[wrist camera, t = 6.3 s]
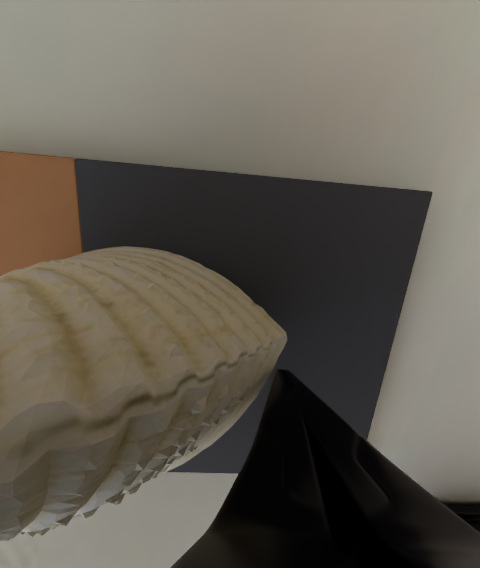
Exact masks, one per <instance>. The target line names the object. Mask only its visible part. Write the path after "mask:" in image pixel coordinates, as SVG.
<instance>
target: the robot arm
mask: <svg viewBox="0 0 480 568" xmlns="http://www.w3.org/2000/svg"><path fill="white" fill-rule="evenodd" d="M171 568H480V506H472V505H444V504H443V503H441V502H440V501H439V500H438V499H436V498H435V497H434V496H433V495H431V494H430V493H429V492H428V491H426V490H425V489H424V488H423V487H421V486H420V485H419V484H417V483H416V482H415V481H414V480H412V479H411V478H410V477H409V476H408V475H406V474H405V473H404V472H403V471H401V470H400V469H399V468H398V467H397V466H395V465H394V464H393V463H392V462H390V461H389V460H388V459H387V458H386V457H385V456H383V455H382V454H381V453H380V452H379V451H378V450H377V449H375V448H374V447H373V446H372V445H371V444H370V443H369V442H368V441H367V440H365V439H364V438H363V437H362V436H360V435H359V433H358V432H356V431H355V430H354V429H353V428H352V427H351V426H350V425H349V424H348V423H347V422H345V421H344V420H343V419H342V418H341V417H340V416H339V415H338V414H337V413H336V412H334V411H333V410H332V409H331V408H330V407H329V406H328V405H327V404H326V403H325V402H323V401H322V400H321V399H320V398H319V397H318V396H317V395H316V394H315V393H313V392H312V391H311V390H310V389H309V388H308V387H307V386H306V385H305V384H304V383H302V382H301V381H300V380H299V379H298V378H297V377H296V376H295V375H294V374H293V373H291V372H290V371H289V370H285V369H277V370H276V372H275V375H274V379H273V382H272V385H271V388H270V391H269V394H268V398H267V401H266V404H265V407H264V410H263V413H262V417H261V420H260V423H259V426H258V429H257V432H256V435H255V438H254V441H253V444H252V446H251V449H250V452H249V454H248V456H247V458H246V460H245V462H244V464H243V467H242V469H241V470H240V472H239V474H238V476H237V478H236V480H235V482H234V484H233V486H232V488H231V490H230V492H229V494H228V495H227V497H226V499H225V501H224V503H223V505H222V507H221V509H220V511H219V512H218V514H217V516H216V518H215V519H214V521H213V523H212V524H211V526H210V527H209V529H208V530H207V531H206V533H205V534H204V535H203V536H202V537H201V538H200V539H199V540H198V541H197V542H196V543H195V544H194V545H193V546H192V547H191V548H190V549H189V550H188V551H187V552H186V553H185V554H184V555H183V556H182V557H181V558H180V559H179V560H178V561H177V562H176V563H175V564H174V565H173V566H172V567H171Z"/></svg>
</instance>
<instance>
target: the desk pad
mask: <svg viewBox="0 0 480 568" xmlns="http://www.w3.org/2000/svg"><path fill="white" fill-rule="evenodd" d="M431 196H432V192H429V191H418V190H407V189H397V188H386V187H375V186H365V185H354V184H343V183H333V182H322V181H311V180H301V179H290V178H280V177H269V176H258V175H248V174H237V173H226V172H216V171H205V170H194V169H184V168H173V167H162V166H152V165H141V164H130V163H120V162H109V161H99V160H88V159H77V158H76V159H74V158H67V157H56V156H45V155H35V154H24V153H13V152H3V151H0V276H2V275H4V274H6V273H8V272H11V271H13V270H15V269H24V268H27V267H30V266H33V265H35V264H38V263H40V262H50V261H51V260H62V259H66V258H70V257H72V256H75V255H78V254H81V253H84V252H89V251H93V250H97V249H104V248H112V247H123V246H128V247H141V248H150V249H157V250H162V251H167V252H171V253H173V254H177V255H181V256H183V257H185V258H188V259H190V260H192V261H195V262H197V263H199V264H201V265H202V266H204V267H206V268H208V269H210V270H212V271H215V272H216V273H218V274H220V275H221V276H223V277H225V278H226V279H228V280H229V281H230V282H232V283H233V284H234V285H236V286H237V287H238V288H240V289H241V290H242V291H243V292H244V293H245V294H246V295H247V296H249V297H250V299H251V300H252V301H253V302H254V303H255V304H257V305H258V306H260V307H262V308H263V309H264V310H265V312H266V313H267V314H268V315H269V316H270V317H271V318H272V319H273V320H274V321H275V322H276V323H277V324H278V325H279V326H280V327H281V328H282V329H283V330H284V331H285V332H286V334H287V342H286V344H285V346H284V348H283V350H282V352H281V354H280V355H279V357H278V359H277V362H276V364H275V366H274V368H273V370H272V372H271V375H270V376H269V378H268V380H267V382H266V383H265V385H264V386H263V387H262V389H261V390H260V392H259V394H258V396H257V397H256V398H255V400H254V401H253V402H252V403H251V404H250V405H249V407H248V408H247V409H246V411H245V412H244V413H243V415H242V416H241V417H240V418H239V419H238V420H237V421H236V423H235V424H234V425H233V426H232V427H231V428H230V429H229V430H228V431H226V432H225V433H224V434H223V435H222V436H221V437H220V438H219V439H218V440H216V441H215V442H214V443H213V444H212V445H211V446H209V447H207V448H206V449H204V450H202V451H201V452H200V453H199V454H197V455H196V456H194V457H193V458H191V459H190V460H188V461H187V462H185V463H184V464H182V465H180V466H178V467H176V468H174V469H172V470H169V471H167V472H199V473H239V472H240V470H241V469H242V467H243V464H244V462H245V460H246V458H247V456H248V454H249V452H250V449H251V446H252V444H253V441H254V438H255V435H256V432H257V429H258V426H259V423H260V420H261V417H262V413H263V410H264V407H265V404H266V401H267V398H268V394H269V391H270V388H271V385H272V382H273V379H274V375H275V372H276V370H277V369H285V370H289V371H290V372H291V373H293V374H294V375H295V376H296V377H297V378H298V379H299V380H300V381H301V382H302V383H304V384H305V385H306V386H307V387H308V388H309V389H310V390H311V391H312V392H313V393H315V394H316V395H317V396H318V397H319V398H320V399H321V400H322V401H323V402H325V403H326V404H327V405H328V406H329V407H330V408H331V409H332V410H333V411H334V412H336V413H337V414H338V415H339V416H340V417H341V418H342V419H343V420H344V421H345V422H347V423H348V424H349V425H350V426H351V427H352V428H353V429H354V430H355V431H356V432H358V433H359V435H360V436H362V437H363V438H364V439H365V440H367V437H368V433H369V430H370V426H371V422H372V418H373V415H374V411H375V407H376V403H377V400H378V396H379V392H380V388H381V385H382V381H383V377H384V373H385V369H386V366H387V362H388V358H389V354H390V351H391V347H392V343H393V339H394V336H395V332H396V328H397V324H398V320H399V317H400V313H401V309H402V305H403V302H404V298H405V294H406V290H407V287H408V283H409V279H410V275H411V272H412V268H413V264H414V260H415V256H416V253H417V249H418V245H419V241H420V238H421V234H422V230H423V226H424V223H425V219H426V215H427V211H428V208H429V204H430V200H431Z"/></svg>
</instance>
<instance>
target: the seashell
mask: <svg viewBox="0 0 480 568" xmlns="http://www.w3.org/2000/svg"><path fill="white" fill-rule="evenodd" d="M286 342H287V334H286V332H285V331H284V330H283V329H282V328H281V327H280V326H279V325H278V324H277V323H276V322H275V321H274V320H273V319H272V318H271V317H270V316H269V315H268V314H267V313H266V312H265V310H264V309H263V308H262V307H260V306H258V305H257V304H255V303H254V302H253V301H252V300H251V299H250V297H249V296H247V295H246V294H245V293H244V292H243V291H242V290H241V289H240V288H238V287H237V286H236V285H234V284H233V283H232V282H230V281H229V280H228V279H226V278H225V277H223V276H221V275H220V274H218V273H216V272H215V271H212V270H210V269H208V268H206V267H204V266H202V265H201V264H199V263H197V262H195V261H192V260H190V259H188V258H185V257H183V256H181V255H177V254H173V253H171V252H167V251H162V250H157V249H150V248H141V247H128V246H123V247H112V248H104V249H97V250H93V251H89V252H84V253H81V254H78V255H75V256H72V257H70V258H66V259H62V260H51V261H50V262H40V263H38V264H35V265H33V266H30V267H27V268H24V269H15V270H13V271H11V272H8V273H6V274H4V275H2V276H0V542H1V541H3V540H10V539H11V538H13V537H15V536H16V535H17V534H18V533H22V534H24V533H25V532H27V533H29V534H30V535H31V536H32V537H33V536H34V535H35V534H36V533H38V534H40V535H43V534H45V533H46V532H47V531H48V530H49V529H50V528H52V529H54V528H55V527H57V526H58V525H59V524H61V525H65V526H66V525H67V524H68V523H69V521H70V520H71V519H72V518H73V517H75V516H79V515H82V516H83V517H85V518H87V517H89V516H91V515H93V514H94V513H95V511H96V510H97V509H98V508H99V506H101V505H102V504H104V503H106V502H110V503H114V504H116V505H117V504H120V503H121V501H122V499H123V497H124V495H125V493H127V494H132V493H135V492H136V491H137V490H138V488H139V487H140V485H141V484H142V483H144V482H146V481H148V480H150V479H151V478H156V477H157V475H160V474H163V473H165V472H167V471H169V470H172V469H174V468H176V467H178V466H180V465H182V464H184V463H185V462H187V461H188V460H190V459H191V458H193V457H194V456H196V455H197V454H199V453H200V452H201V451H202V450H204V449H206V448H207V447H209V446H211V445H212V444H213V443H214V442H215V441H216V440H218V439H219V438H220V437H221V436H222V435H223V434H224V433H225V432H226V431H228V430H229V429H230V428H231V427H232V426H233V425H234V424H235V423H236V421H237V420H238V419H239V418H240V417H241V416H242V415H243V413H244V412H245V411H246V409H247V408H248V407H249V405H250V404H251V403H252V402H253V401H254V400H255V398H256V397H257V396H258V394H259V392H260V390H261V389H262V387H263V386H264V385H265V383H266V382H267V380H268V378H269V376H270V375H271V372H272V370H273V368H274V366H275V364H276V362H277V359H278V357H279V355H280V354H281V352H282V350H283V348H284V346H285V344H286Z"/></svg>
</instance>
